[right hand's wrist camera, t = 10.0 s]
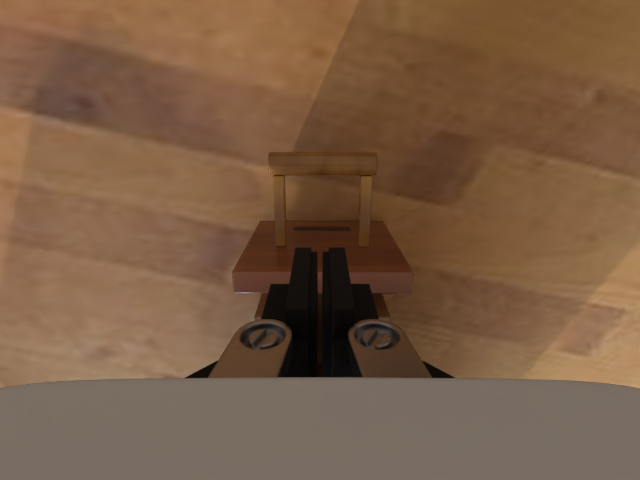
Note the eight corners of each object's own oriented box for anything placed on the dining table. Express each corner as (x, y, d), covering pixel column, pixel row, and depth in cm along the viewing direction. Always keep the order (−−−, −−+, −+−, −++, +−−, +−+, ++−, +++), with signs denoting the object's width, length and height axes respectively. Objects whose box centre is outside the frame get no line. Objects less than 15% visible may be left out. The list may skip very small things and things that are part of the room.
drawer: (256, 144, 24) (222, 161, 16) (388, 144, 24) (424, 161, 16) (267, 361, 30) (247, 458, 22) (374, 362, 30) (395, 458, 22)
